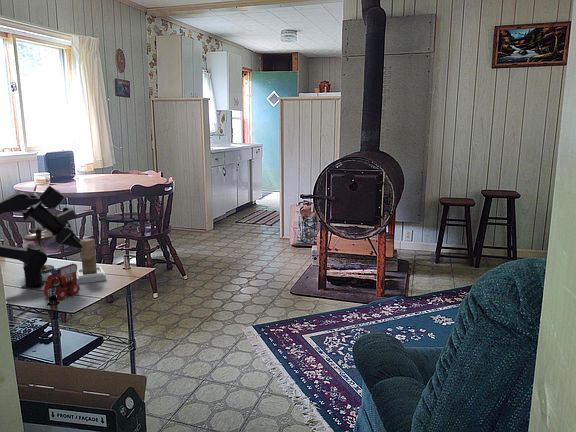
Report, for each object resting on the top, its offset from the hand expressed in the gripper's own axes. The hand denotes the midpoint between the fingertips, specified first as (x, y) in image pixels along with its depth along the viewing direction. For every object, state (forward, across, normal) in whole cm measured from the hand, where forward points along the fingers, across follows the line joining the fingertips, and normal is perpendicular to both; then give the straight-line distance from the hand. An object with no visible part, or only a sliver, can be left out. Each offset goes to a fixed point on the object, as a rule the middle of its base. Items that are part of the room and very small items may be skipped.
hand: (80, 244), depth 176 cm
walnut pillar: (+10, 0, +6) cm, 12 cm away
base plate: (+11, 0, +8) cm, 14 cm away
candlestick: (0, +18, +19) cm, 27 cm away
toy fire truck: (+4, -16, +16) cm, 23 cm away
